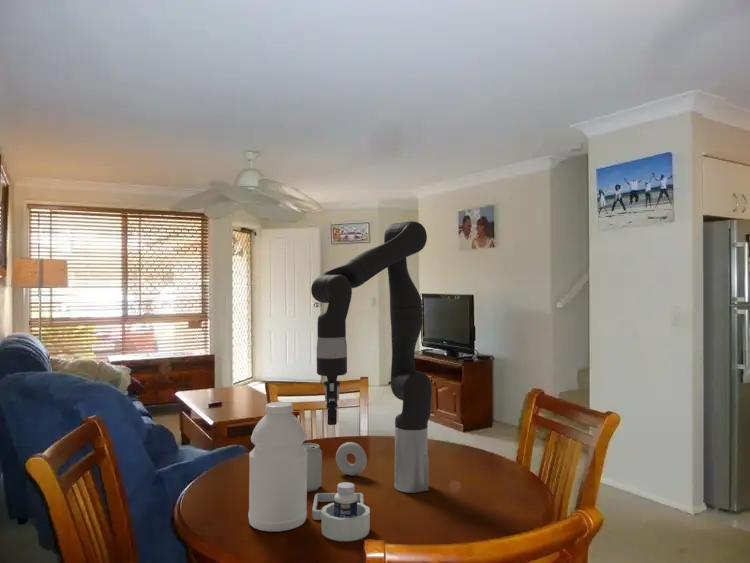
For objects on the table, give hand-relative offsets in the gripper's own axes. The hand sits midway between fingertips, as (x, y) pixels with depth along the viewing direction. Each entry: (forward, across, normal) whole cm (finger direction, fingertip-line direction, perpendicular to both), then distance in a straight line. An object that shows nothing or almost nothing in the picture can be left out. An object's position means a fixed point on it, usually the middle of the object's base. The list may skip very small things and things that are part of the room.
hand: (332, 420), depth 141 cm
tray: (+23, +3, -1) cm, 24 cm away
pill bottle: (+23, -10, -3) cm, 25 cm away
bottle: (+23, -3, +13) cm, 27 cm away
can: (+24, +20, +7) cm, 32 cm away
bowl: (+23, -10, -3) cm, 25 cm away
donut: (+24, +30, -5) cm, 39 cm away
